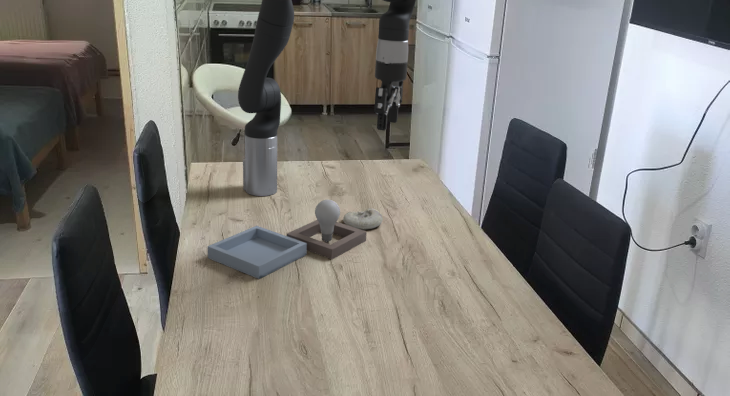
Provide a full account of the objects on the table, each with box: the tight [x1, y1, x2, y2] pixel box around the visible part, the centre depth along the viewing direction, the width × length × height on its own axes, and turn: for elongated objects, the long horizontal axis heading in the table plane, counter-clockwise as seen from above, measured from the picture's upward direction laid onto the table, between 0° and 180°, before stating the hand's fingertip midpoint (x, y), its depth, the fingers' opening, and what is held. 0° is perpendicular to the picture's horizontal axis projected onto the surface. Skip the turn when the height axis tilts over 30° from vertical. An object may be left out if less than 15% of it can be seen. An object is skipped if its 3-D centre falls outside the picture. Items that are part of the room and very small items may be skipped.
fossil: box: [342, 207, 384, 231], centre depth 173 cm, size 11×4×10 cm
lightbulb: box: [314, 199, 341, 243], centre depth 159 cm, size 6×6×11 cm
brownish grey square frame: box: [286, 219, 367, 260], centre depth 160 cm, size 14×14×2 cm
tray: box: [206, 225, 308, 280], centre depth 151 cm, size 16×16×3 cm
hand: (387, 125), depth 159 cm, fingers open, 8 cm apart
